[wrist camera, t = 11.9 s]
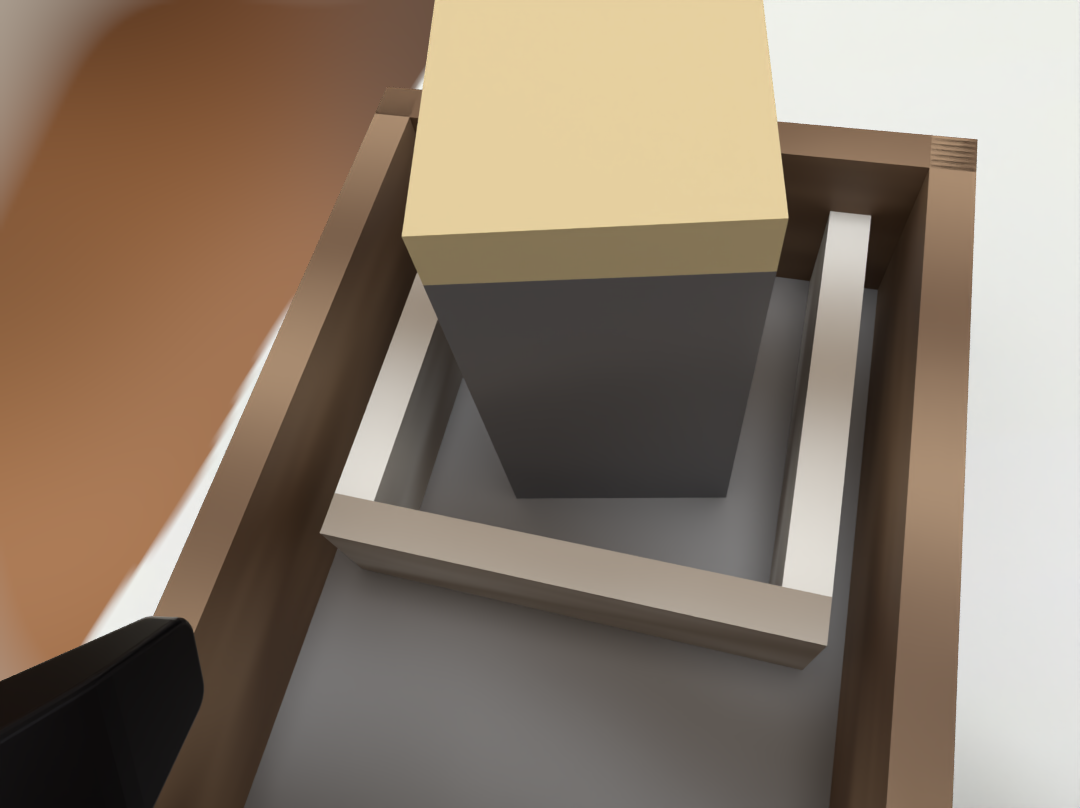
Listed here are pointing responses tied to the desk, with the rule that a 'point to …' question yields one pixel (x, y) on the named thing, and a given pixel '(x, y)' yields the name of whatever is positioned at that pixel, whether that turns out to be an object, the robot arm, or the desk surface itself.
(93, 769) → the robot arm
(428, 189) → the tan lidded carton
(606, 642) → the walled box
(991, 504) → the desk surface
